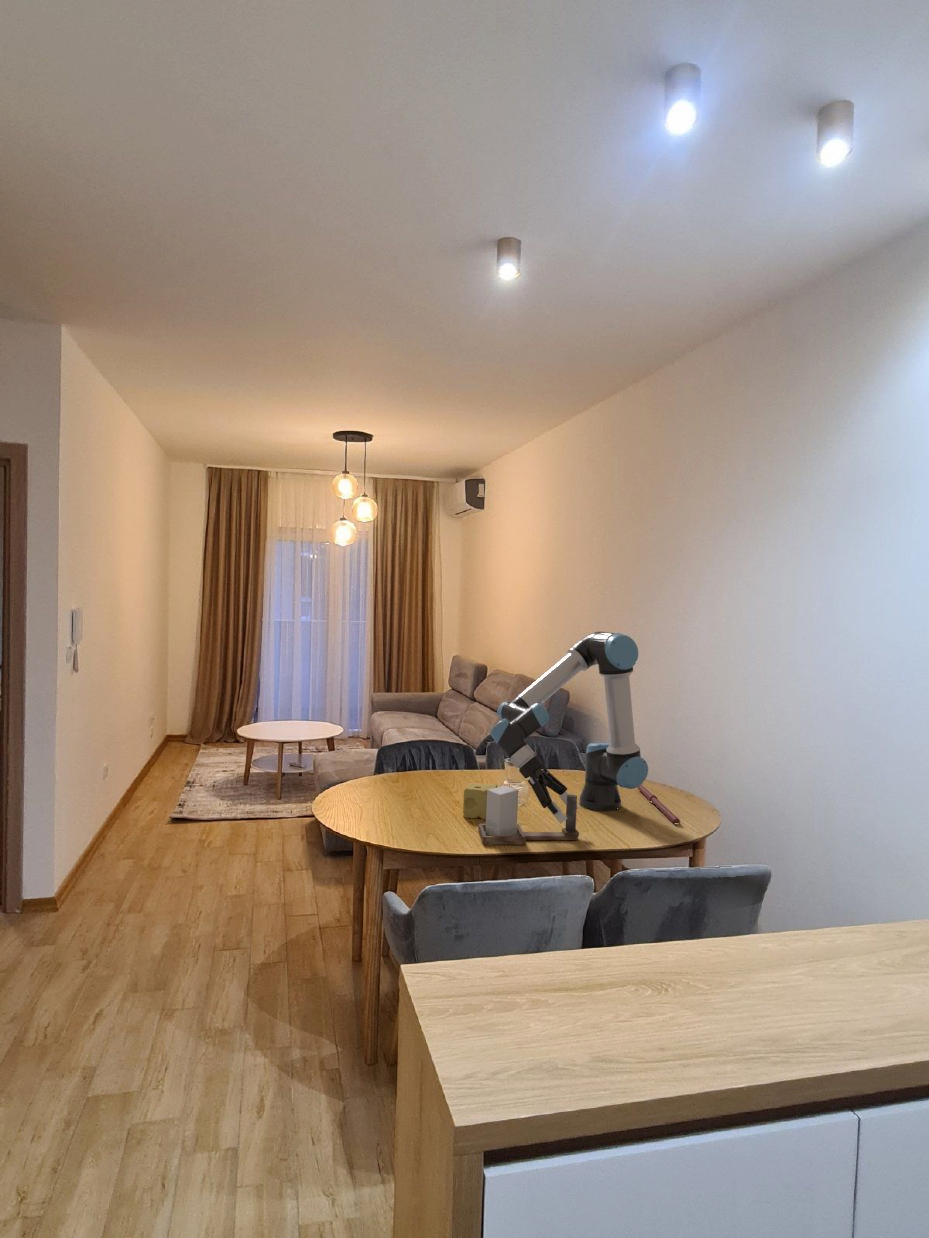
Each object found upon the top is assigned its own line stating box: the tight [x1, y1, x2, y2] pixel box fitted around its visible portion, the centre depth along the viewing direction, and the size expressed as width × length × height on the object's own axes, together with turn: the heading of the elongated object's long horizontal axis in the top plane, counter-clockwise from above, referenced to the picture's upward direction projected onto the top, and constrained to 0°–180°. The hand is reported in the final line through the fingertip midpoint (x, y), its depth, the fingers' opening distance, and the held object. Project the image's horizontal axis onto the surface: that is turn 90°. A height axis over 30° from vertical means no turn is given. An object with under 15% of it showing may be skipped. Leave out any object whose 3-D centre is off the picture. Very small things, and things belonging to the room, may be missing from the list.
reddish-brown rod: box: [637, 784, 681, 824], centre depth 285 cm, size 45×3×3 cm, turn 3°
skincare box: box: [485, 785, 519, 836], centre depth 242 cm, size 8×7×16 cm
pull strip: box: [477, 794, 580, 845], centre depth 242 cm, size 31×13×13 cm, turn 95°
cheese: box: [462, 782, 498, 820], centre depth 266 cm, size 10×11×10 cm
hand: (570, 815), depth 243 cm, fingers open, 13 cm apart
